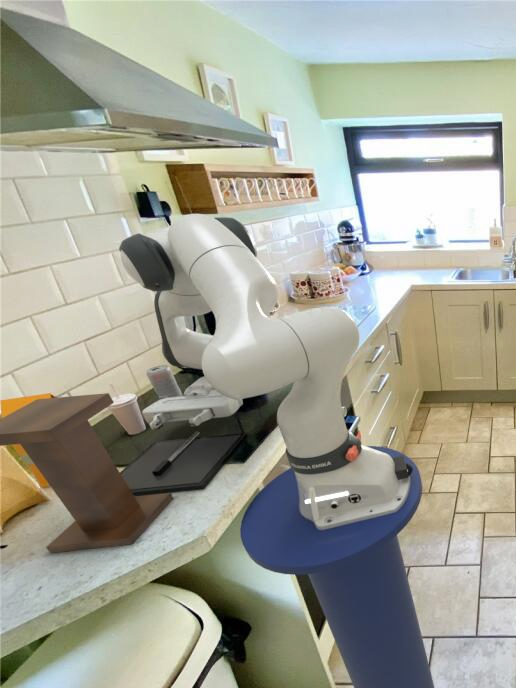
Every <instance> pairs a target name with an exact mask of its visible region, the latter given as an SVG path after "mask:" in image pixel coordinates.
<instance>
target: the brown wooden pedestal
mask: <svg viewBox="0 0 516 688" xmlns="http://www.w3.org/2000/svg"><path fill="white" fill-rule="evenodd" d="M112 398H113V397H111V395H110V393H109V392H107V393H95V394H81V395H73V396H72V395H71V396H60V397H59V396H58V397H57V398H47V399H37V400H35V401H33V402H31V403H30V404H28V405H26V406H24V407H22V408H20V409H18V410H16V411H15V412H13V413H11V414H9V415H7V416H5V417H3V418H2V419H1V418H0V446H12V445H13V444H20V445H21V446H22V447H23V449H24V450H25V452H26V453H27V454H28V456H29V457H30V458H31V460H32V461H33V463H34V464H35V465H36V467H37V468H38V470H39V471H40V472H41V474H42V475H43V476H44V478H45V479H46V481H47V482H48V483H49V485H50V486H49V487H50V488H51V489H52V491H53V492H54V493H55V494H56V496H57V497H58V499H59V500H60V501H61V503H62V504H63V506H64V507H65V508H66V510H67V512H68V513H69V514H70V515H71V517H72V518H73V519H74V522H73V523H71V524H70V525H69V526H68V527H67V528H66V529H64V530H63V531H62V532H61V533H60V534H59V535H58V536H57V537H56V538H55V539H53V540H52V541H51V542H50V543H49V544H48V545H47V546H46V547H45V548H46V550H48V552H49V553H51V554H53V553H63V552H73V551H81V550H92V549H101V548H110V547H111V548H112V547H119V546H127V545H128V546H129V545H133V544H134V543H135V542H136V541H137V540H138V538H140V536H141V535H142V534H143V533H144V532H145V531H146V530H147V529H148V528H149V527H150V525H151V524H152V523H153V522H154V520H156V518H158V516H159V515H160V514H161V513H162V512H163V511H164V509H165V508H166V507H167V506H168V505H169V504H170V503H171V502H172V501H173V499H174V497H173V495H172V492H170V493H160V494H150V495H140V496H134V495H133V493H132V492H131V490H130V489H129V487H128V485H127V484H126V482H125V480H124V479H123V477H122V475H121V474H120V472H121V471H119V469H118V467H117V465H116V464H115V462H114V461H113V459H112V458H111V456H110V454H109V453H108V451H107V450H106V447H105V446H104V444H103V443H102V441H101V439H100V438H99V436H98V435H97V433H96V431H95V430H94V428H93V426H92V424H91V423H90V421H89V420H90V419H92V418H93V417H94V416H96V415H98V414H99V413H101V412H102V411H104V410H105V409H107V407H108V406H110V405H111V404H113V403H114V402H113V400H112Z"/></svg>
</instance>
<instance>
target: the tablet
mask: <svg viewBox="0 0 516 688" xmlns="http://www.w3.org/2000/svg"><path fill="white" fill-rule="evenodd" d="M247 437H248V434H247V432H241V433H230V434H220V435H208V436H197V437H196V438H195V439H194V440H193V441H192V442H191V443H190V444H189V445H188V446H187V447H186V448H185V449H184V450H183V451H182V452H181V453H180V454H179V455H178V456H177V457H176V458H175V459H174V460H173V461H172V462H171V465H170V466H169V467H168V468H167V469H166V470H165V471H164V472H163V473H162V474H161V475H160V476H154V475H153V473H152V471H153V470H154V469H155V468H156V467H157V466H158V465H159V464H160V463H161V462H163V461H166V460H168V459H169V458H170V457H171V456H172V455H173V454H174V453H175V452H176V451H177V450H178V449H179V448H180V447H181V446H182V445H183V444H184V443H185V442H186V441H187V440H188V439H189V438H190V437H189V438H178V439H167V440H156V441H154V442H153V443H151V445H149V446H148V447H147V448H146V449H144V450H143V451H142V452H141V453H140V454H139V455H138V456H137V457H135V459H133V460H132V461H131V462H130V463H128V465H127V466H125V467H124V468H123V469H122V470H121V471H119V472H120V474H121V475H122V477H123V479H124V480H125V482H126V484H127V485H128V487H129V489H130V490H131V492H132V493H133V495H134V497H135V496H145V495H155V494H164V493H178V492H188V491H198V490H199V491H200V490H205V489H206V487H207V486H208V485H209V484H210V483H211V481H212V480H213V479H214V478H215V476H216V475H217V474H218V473H219V472H220V470H221V469H222V468H223V467H224V465H226V463H227V461H228V460H229V459H230V458H231V457H232V456H233V454H234V453H235V452H236V451H237V449H238V448H240V446H241V444H242V443H243V442H244V441H245V439H247Z"/></svg>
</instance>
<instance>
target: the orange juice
mask: <svg viewBox="0 0 516 688" xmlns="http://www.w3.org/2000/svg"><path fill="white" fill-rule="evenodd" d="M47 398H58V397H57V396H55V395H54V394H52V392H49V393H42V394H35V395H28V396H27V395H26V396H22V397H21V396H20V397H14V398H7V399H1V400H0V416H1V417H0V419H2V418H3V417H5V416H7V415H9V414H11V413H13V412H15V411H16V410H18V409H20V408H22V407H24V406H26V405H28V404H30V403H31V402H33V401H35V400H37V399H47ZM11 446H12V448H13V449H14V450H15V452H16V453H17V454H18V456H19V458H20V459H21V460H22V461H23V463H24V465H25V466H27V468H28V469H29V470H30V472H31V473H32V475H33V476H34V477H35V478H36V480H37V482H38V483H39V484H40V485H41V487H42V488H46V487H51V486H50V485H49V483H48V482H47V481H46V479H45V478H44V476H43V475H42V474H41V472H40V471H39V470H38V468H37V467H36V465H35V464H34V463H33V461H32V460H31V458H30V457H29V456H28V454H27V453H26V452H25V450H24V449H23V447H22V446H21V445H20V444H13V445H11Z"/></svg>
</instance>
